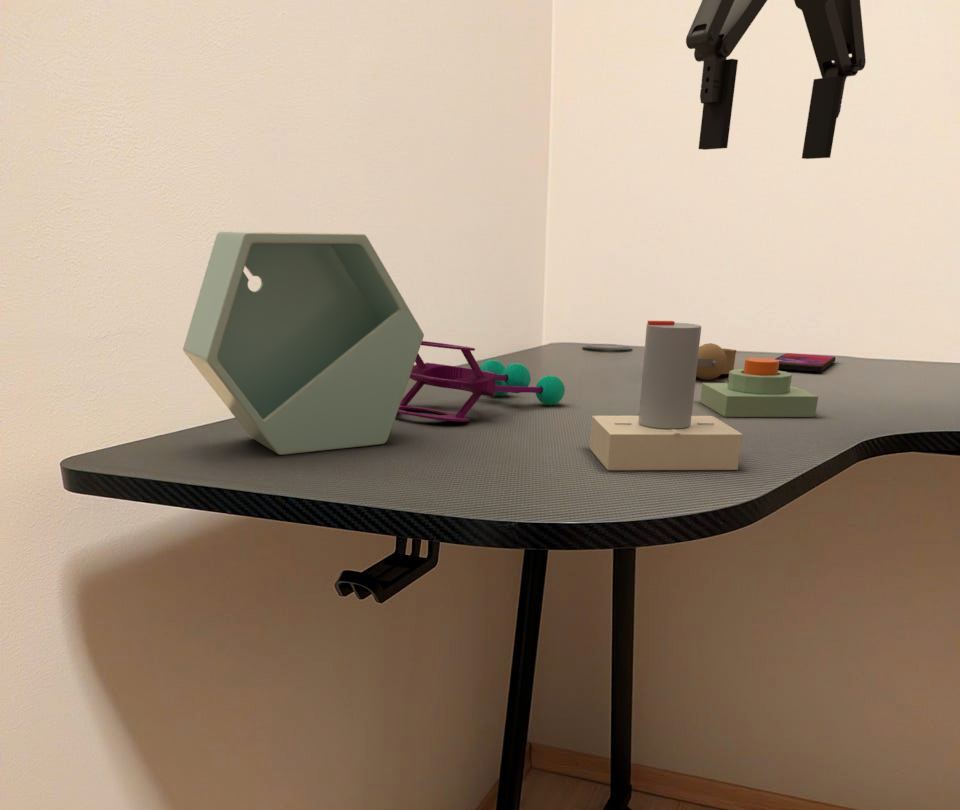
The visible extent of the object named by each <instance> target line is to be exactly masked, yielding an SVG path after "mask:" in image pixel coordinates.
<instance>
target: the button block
mask: <svg viewBox="0 0 960 810" xmlns="http://www.w3.org/2000/svg"><path fill="white" fill-rule="evenodd" d="M792 377H793V374H792V373H791V372H788V371H783V370H778V374H777V375H773V376H762V375H750V374H744V368H734V370H731V371H730V372H729V374H728V378H727V382H702V383H701V392H700V401H699V402H700V403H701V404H702V405H704V406H705V407H707V408H709V409H711V410H713V411H714V412H716V413H717V414H719V415H721V416H722V417H724V418H815V417H816V413H817V406H818V401H819V396H818V395H816V394H814V393H811V392H808V391H806V390H803V389H801V388H799V387H796V386H795V385H792Z"/></svg>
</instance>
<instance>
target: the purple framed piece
mask: <svg viewBox="0 0 960 810" xmlns="http://www.w3.org/2000/svg"><path fill="white" fill-rule="evenodd" d="M421 346H425V347H432V348H440V349H441V348H442V349H449V350H450V349H451V350H458V351H459V350H460V351H461V353H462V355H463V357H464V359H465V361H466V362H467V364H468V365H469V367H470V368H468V367H463V366H462V367H461V366H456V365H449V364H441V363H434V362H424V360H423V358H422V357H421V355H420V354H419V353H418V354H417V357H416V360H415V363H414V366H413V369H412V372H411V375H410V377H409V380H411V381H414V382H415V383H414V384H413V385H412V387H411V388H410V389H409V391H407V393H406V394H405V395H404V396H403V398H402V400H401V403H400V406H399V409H398V412H397V414H402V415H407V416H413V417H419V418H424V419H432V420H438V421H445V422H446V421H447V422H456V423H457V422H460V423H466V422H468V421H469V417H467V415H468V413H469V412H470V411H471V410H472V408H473V407H474V405H475V404H476V403H477V402H478V400H479V399H480V398H481V397H482V396H487V397H493V398H494V396H496V397H497V396H498V397H503V396H506V395H508V394H509V393H512V394H521V393H535V397H536V398H537V399H538V401H539V402H540V403H541V404H543V405H546V406H554V405H556V404H559V403H560V401H562V400H563V398H564V395H565V391H566V389H565V387H566V386H565V385H564V382H563V381H562V379H561V378H560V377H558V376H556V375H544V376H542V377H541V378H540V379H539V380H538V381H537V382H536V385H535V386H530V383H531V379H532V378H531V372H530V370H529V369H528V367H526V366H525V364H522V363H514V362H513V363H509V364H507V365H506V366H505V365H504V364H503V363H502V362H501V361H499V360H497V359H496V360H495V359H488V360H485V361H483V362H482V363H481V364H480V366H479V364H478V362H477V360H476V359H475V357H474V354H473V353H472V351H473V352H475V351H476V347H475V348H474V347H470V346H463V345H458V344H457V345H456V344H450V343H442V342H435V341H428V340H422V343H421ZM425 385H427V386H432V387H437V388H438V387H439V388H443V389H451V390H457V391H464V392H468V393H471V395H470V396H469V398H468V399H467V400H466V401H465V402H464V404H463V405H462V406H461V408H460V409H459V410H458V411H457V412H456V413H453V412H449V411H446V410H445V411H443V410H440V409H434V408H428V407H424V406H423V407H422V406H416V405H409V403H411V401H412V400H413V398H414V397H415V396H416V395H417V394H418V393H419V391H421V389H422V388H423V386H425ZM407 410H415V411H423V412H430V413H435V414H427V413H419V412H412V411H407ZM437 414H438V415H437ZM439 414H440V415H439Z"/></svg>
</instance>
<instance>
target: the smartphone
mask: <svg viewBox="0 0 960 810" xmlns="http://www.w3.org/2000/svg"><path fill="white" fill-rule="evenodd" d="M836 358H837V357H835V356H832V355H821V354H820V355H818V354H803V353H784V354H782V355H780V356H778V357H776V358H775V359H776V360H779V367H778V370H791V371H806V372H822V371H824V370H825V369H826V368H828V367H829V366H831V365H832V364H834V363H835V362H836Z"/></svg>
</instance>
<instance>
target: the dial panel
mask: <svg viewBox="0 0 960 810" xmlns="http://www.w3.org/2000/svg"><path fill="white" fill-rule="evenodd" d="M638 420H639V415H592V416H591V427H590V443H589V450H590V451H591V452H592V453H593V454H594V456H595V457H596V458H597V459H598V461H599V462H600V463H601V464H602V465H603V467H604V468H605V469H606V470H607V471H739V464H740V457H741V449H742V443H743V442H742V441H743V433H741V432H739V431H738V430H736V429H735V428H733V427H731V426H730V425H728V424H727V423H725V422H723V421H722V420H721V419H718V418H717V417H715V416H714V415H692V417H691V425H690V426H689V427H686V428H679V429H662V428H653V427H647V426H643V425H641V424H639V422H638Z"/></svg>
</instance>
